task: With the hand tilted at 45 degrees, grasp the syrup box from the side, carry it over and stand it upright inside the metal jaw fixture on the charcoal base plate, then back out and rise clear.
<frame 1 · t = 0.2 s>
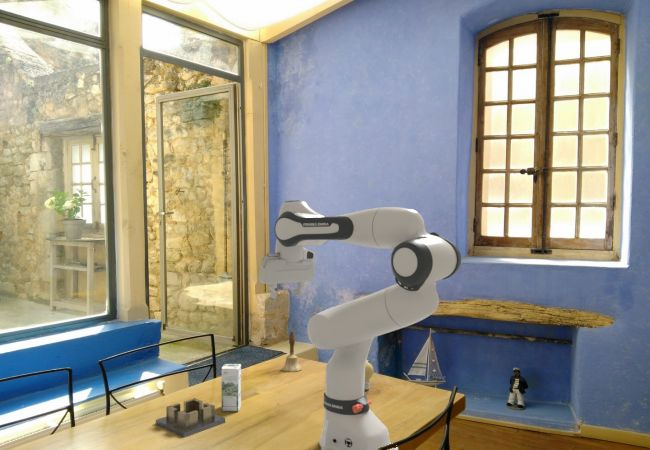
hand: (285, 296, 164), 39 cm above the table, tool pointing down, fingers open, 8 cm apart
hand bell: (291, 369, 222), on the table
light bulb: (364, 389, 197), on the table
syrup box: (231, 409, 176), on the table
metal jaw fixture: (190, 422, 164), on the table
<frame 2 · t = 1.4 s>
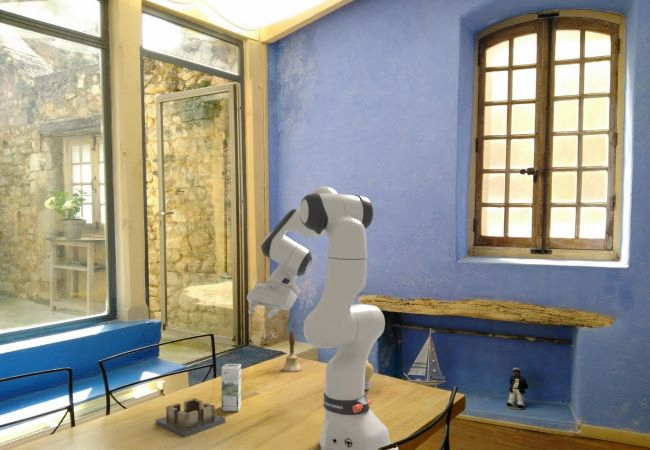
hand: (259, 314, 185), 30 cm above the table, tool tilted 45°, fingers open, 8 cm apart
nothing on the table moved.
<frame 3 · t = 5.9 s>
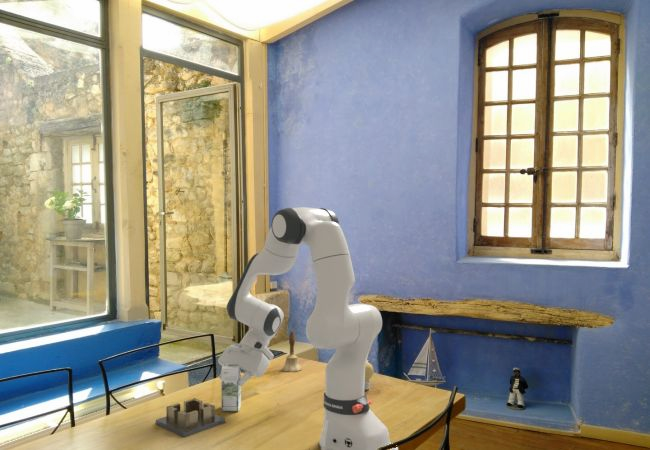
hand: (229, 381, 176), 9 cm above the table, tool tilted 45°, fingers closed on syrup box, 8 cm apart
syrup box: (231, 409, 176), on the table, touching gripper
everything else where it was.
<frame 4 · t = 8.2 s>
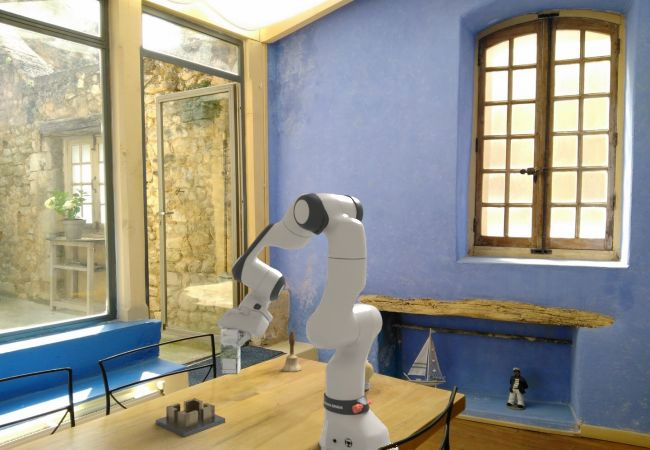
hand: (229, 343, 175), 22 cm above the table, tool tilted 45°, fingers closed on syrup box, 8 cm apart
syrup box: (230, 372, 176), point 12 cm above the table, touching gripper
everything else where it was.
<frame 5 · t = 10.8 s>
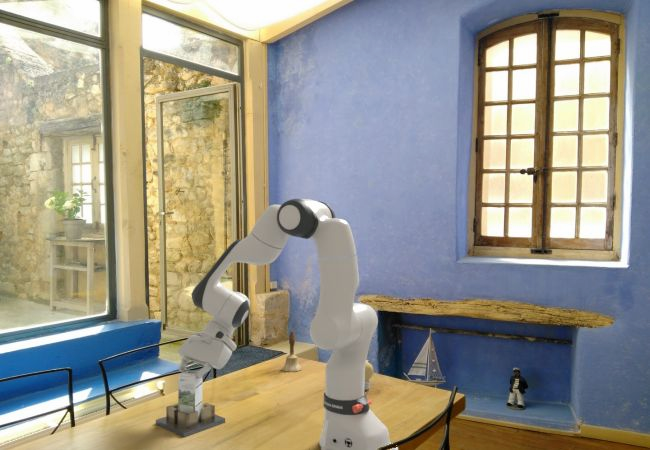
hand: (188, 373, 163), 15 cm above the table, tool tilted 45°, fingers closed on syrup box, 8 cm apart
syrup box: (190, 419, 164), point 1 cm above the table, touching gripper, metal jaw fixture
everything else where it was.
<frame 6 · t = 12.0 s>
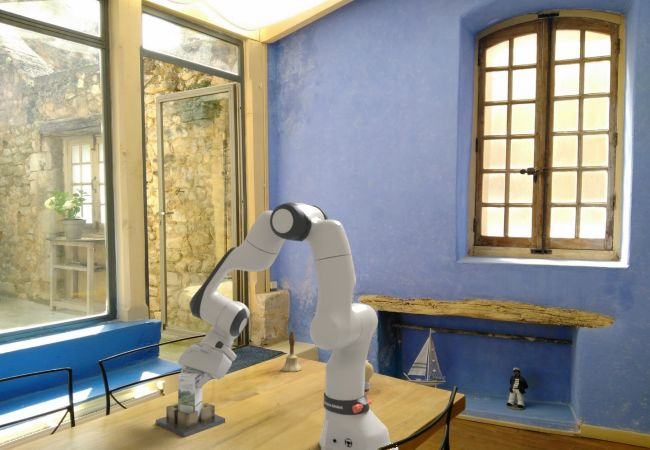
hand: (188, 384, 163), 12 cm above the table, tool tilted 45°, fingers closed on syrup box, 7 cm apart
syrup box: (190, 419, 164), point 1 cm above the table, touching gripper, metal jaw fixture
everything else where it was.
when the fingers open (12 cm above the table, at t = 12.3 s): syrup box stays where it is, resting on metal jaw fixture.
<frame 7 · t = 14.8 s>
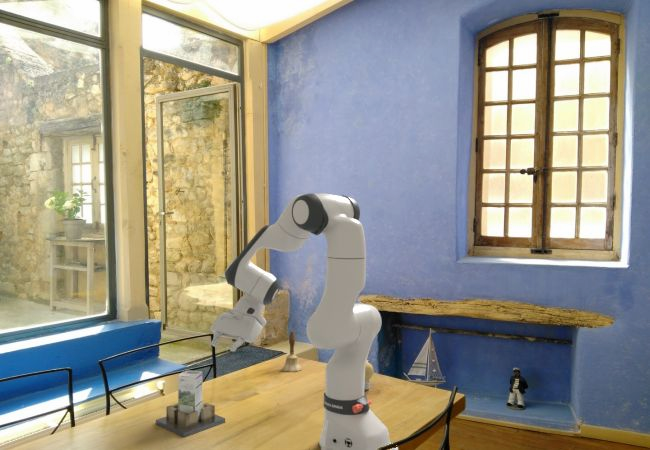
hand: (222, 347, 173), 21 cm above the table, tool tilted 45°, fingers open, 8 cm apart
syrup box: (190, 419, 164), point 1 cm above the table, touching metal jaw fixture
everything else where it was.
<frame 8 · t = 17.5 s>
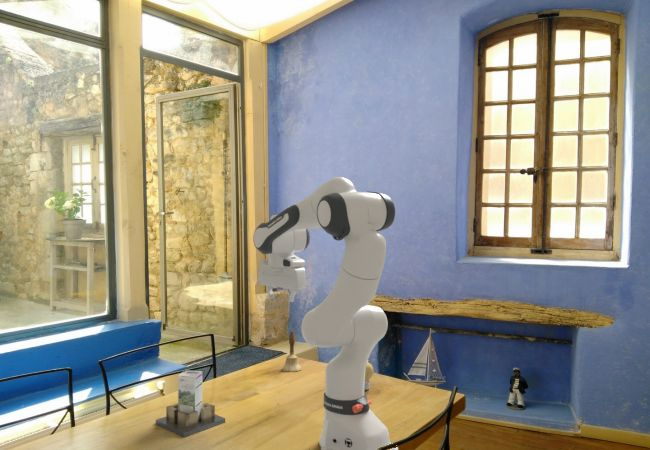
hand: (280, 300, 183), 35 cm above the table, tool pointing down, fingers open, 8 cm apart
nothing on the table moved.
at the end: syrup box 0.1 cm off-centre on the metal jaw fixture, point 1.0 cm above the metal jaw fixture's base; syrup box tilted 0° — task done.
